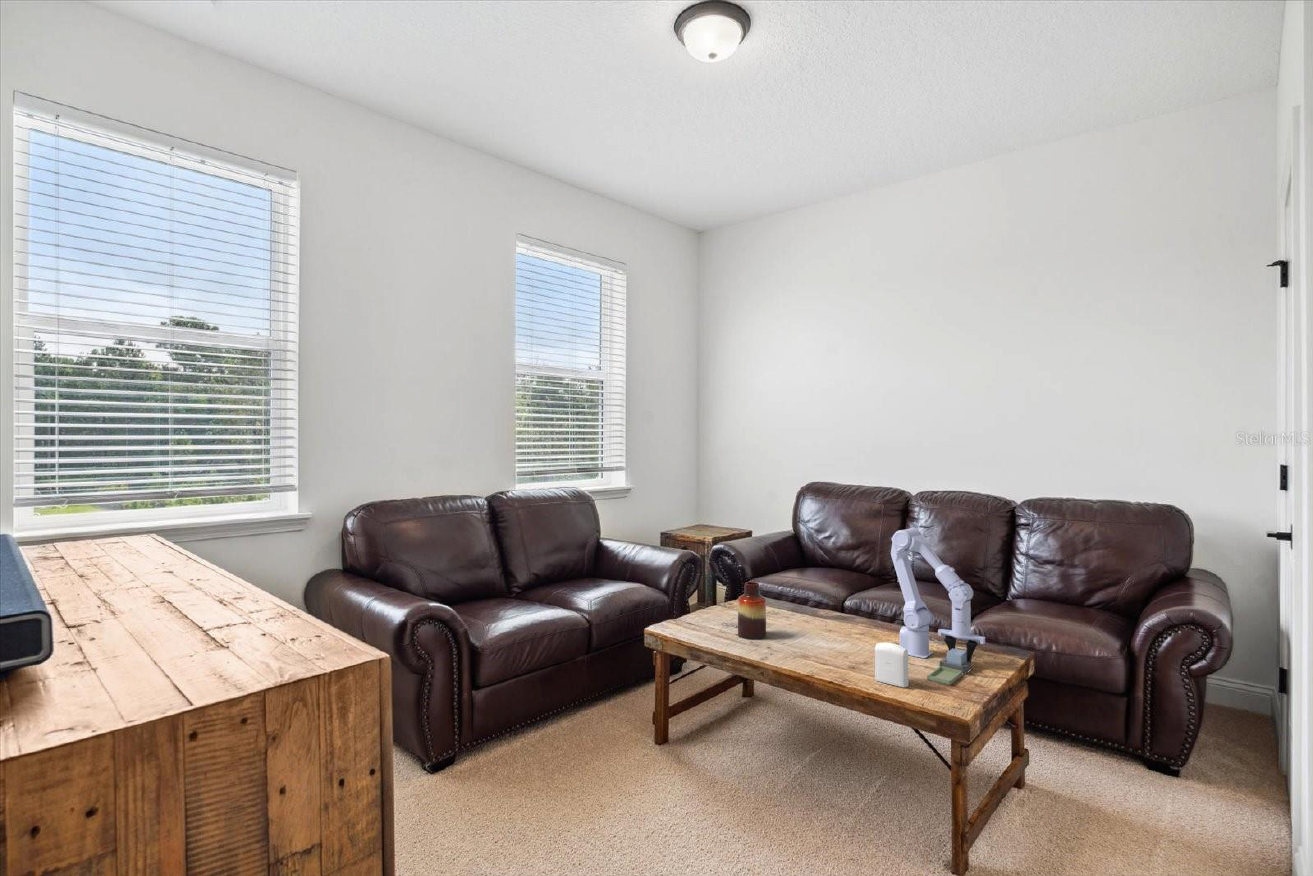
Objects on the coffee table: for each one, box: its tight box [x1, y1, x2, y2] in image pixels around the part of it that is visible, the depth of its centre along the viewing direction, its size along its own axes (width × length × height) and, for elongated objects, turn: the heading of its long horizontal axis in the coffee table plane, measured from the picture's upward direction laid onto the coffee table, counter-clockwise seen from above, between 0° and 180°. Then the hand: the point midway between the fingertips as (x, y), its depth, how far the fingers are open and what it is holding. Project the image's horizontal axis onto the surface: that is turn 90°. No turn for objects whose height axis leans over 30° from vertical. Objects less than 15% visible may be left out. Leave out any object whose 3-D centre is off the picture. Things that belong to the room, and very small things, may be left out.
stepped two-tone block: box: [946, 647, 967, 666], centre depth 220 cm, size 4×9×6 cm, turn 138°
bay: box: [939, 656, 972, 675], centre depth 218 cm, size 8×6×2 cm
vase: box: [737, 581, 767, 641], centre depth 255 cm, size 11×11×20 cm
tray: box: [926, 665, 963, 687], centre depth 210 cm, size 7×12×2 cm, turn 138°
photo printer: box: [874, 641, 909, 689], centre depth 206 cm, size 10×4×12 cm, turn 47°
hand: (961, 660), depth 222 cm, fingers closed on stepped two-tone block, 4 cm apart
